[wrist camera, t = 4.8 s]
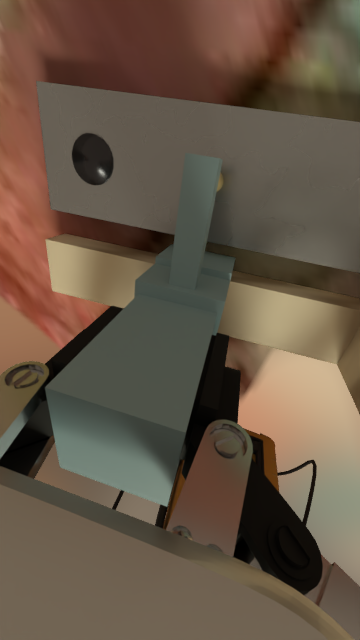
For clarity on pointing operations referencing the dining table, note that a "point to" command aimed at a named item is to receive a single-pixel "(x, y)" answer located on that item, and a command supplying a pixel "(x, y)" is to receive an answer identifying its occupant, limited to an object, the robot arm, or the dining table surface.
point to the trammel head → (147, 358)
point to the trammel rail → (240, 306)
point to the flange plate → (237, 169)
